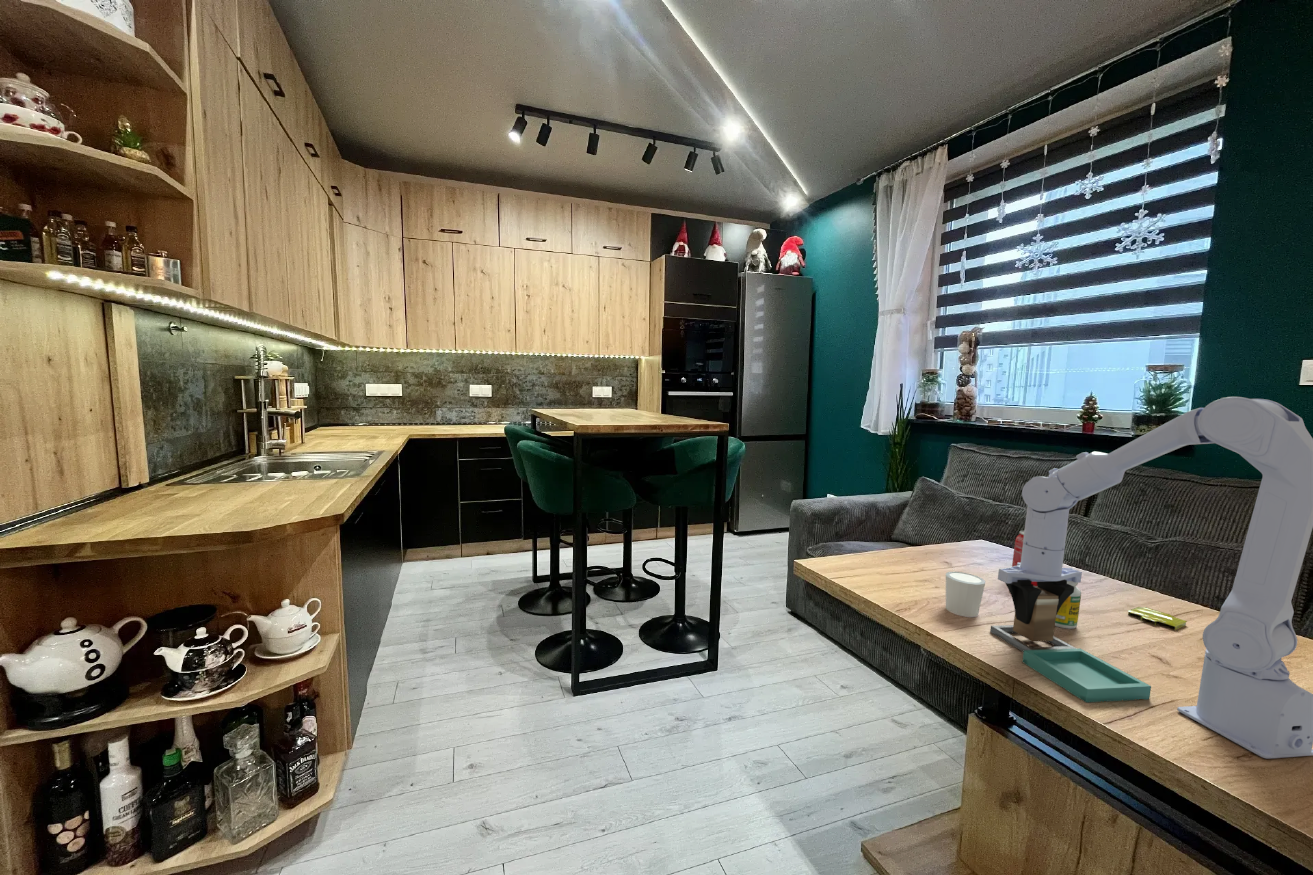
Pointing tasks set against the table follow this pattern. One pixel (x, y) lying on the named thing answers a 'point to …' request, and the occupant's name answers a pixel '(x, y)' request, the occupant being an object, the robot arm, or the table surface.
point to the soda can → (1019, 552)
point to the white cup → (964, 593)
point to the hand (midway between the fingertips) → (1034, 621)
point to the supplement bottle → (1069, 609)
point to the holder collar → (1005, 632)
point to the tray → (1086, 675)
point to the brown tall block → (1040, 619)
